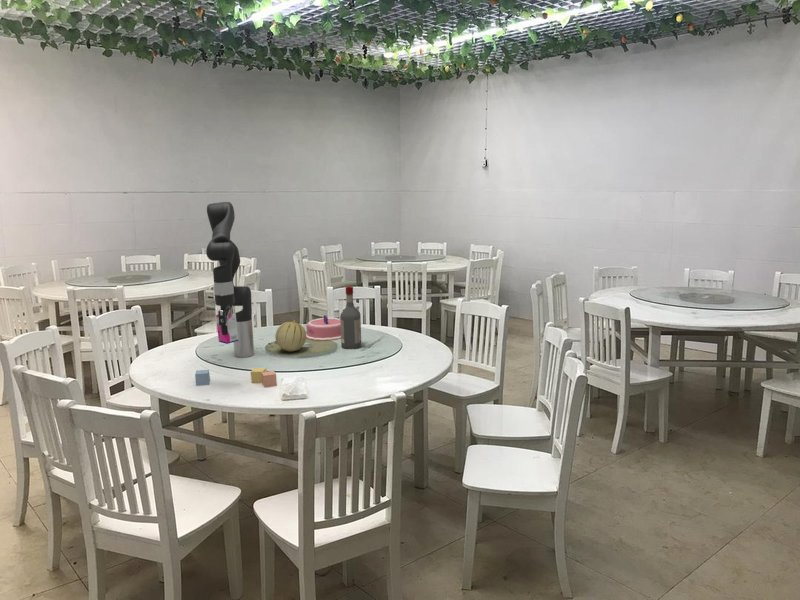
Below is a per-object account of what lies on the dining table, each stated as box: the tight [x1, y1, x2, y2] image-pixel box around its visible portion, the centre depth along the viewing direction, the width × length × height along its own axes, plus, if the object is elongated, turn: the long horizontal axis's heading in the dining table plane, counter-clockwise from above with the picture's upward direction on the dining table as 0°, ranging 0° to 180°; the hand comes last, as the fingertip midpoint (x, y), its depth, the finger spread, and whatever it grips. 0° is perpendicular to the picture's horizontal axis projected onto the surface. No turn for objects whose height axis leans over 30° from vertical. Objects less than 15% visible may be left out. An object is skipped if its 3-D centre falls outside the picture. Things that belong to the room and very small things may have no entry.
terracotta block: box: [261, 370, 278, 388], centre depth 245 cm, size 5×5×5 cm
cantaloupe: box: [274, 319, 307, 353], centre depth 292 cm, size 15×15×15 cm
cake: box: [306, 314, 341, 342], centre depth 322 cm, size 25×25×11 cm
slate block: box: [194, 369, 211, 387], centre depth 249 cm, size 5×5×5 cm
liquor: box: [339, 286, 362, 350], centre depth 296 cm, size 9×9×30 cm
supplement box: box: [215, 312, 238, 345], centre depth 243 cm, size 6×6×12 cm
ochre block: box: [250, 367, 267, 384], centre depth 250 cm, size 5×5×5 cm
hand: (227, 332), depth 243 cm, fingers closed on supplement box, 8 cm apart
